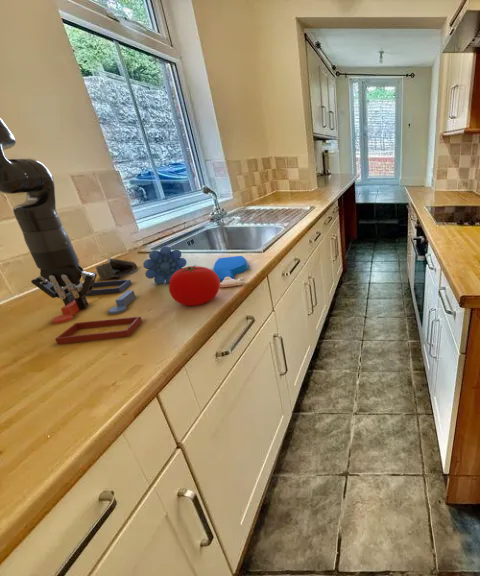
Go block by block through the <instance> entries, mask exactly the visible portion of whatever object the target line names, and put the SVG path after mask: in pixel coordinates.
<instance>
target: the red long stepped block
mask: <svg viewBox="0 0 480 576" xmlns="http://www.w3.org/2000/svg"><path fill="white" fill-rule="evenodd" d="M60 310H61V313H62V314H60V315H57V316H55V317H53V318H52V319H51V321H52V323H53V324H63V323H66V322H69V321H71V320H72V319H73V318H74V315H76V314H77V313H78V312H79V311H80V310H79V307H78V305H77V303H76V301H75V298H74V300H73V301H71V302H70V303H68V304H67V305H65V304H64V306H62V307H61V308H60Z"/></svg>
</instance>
